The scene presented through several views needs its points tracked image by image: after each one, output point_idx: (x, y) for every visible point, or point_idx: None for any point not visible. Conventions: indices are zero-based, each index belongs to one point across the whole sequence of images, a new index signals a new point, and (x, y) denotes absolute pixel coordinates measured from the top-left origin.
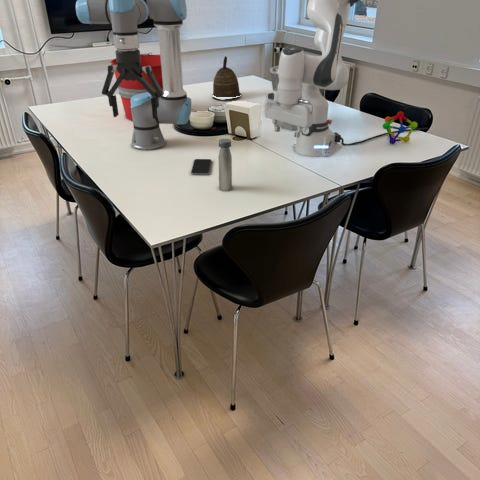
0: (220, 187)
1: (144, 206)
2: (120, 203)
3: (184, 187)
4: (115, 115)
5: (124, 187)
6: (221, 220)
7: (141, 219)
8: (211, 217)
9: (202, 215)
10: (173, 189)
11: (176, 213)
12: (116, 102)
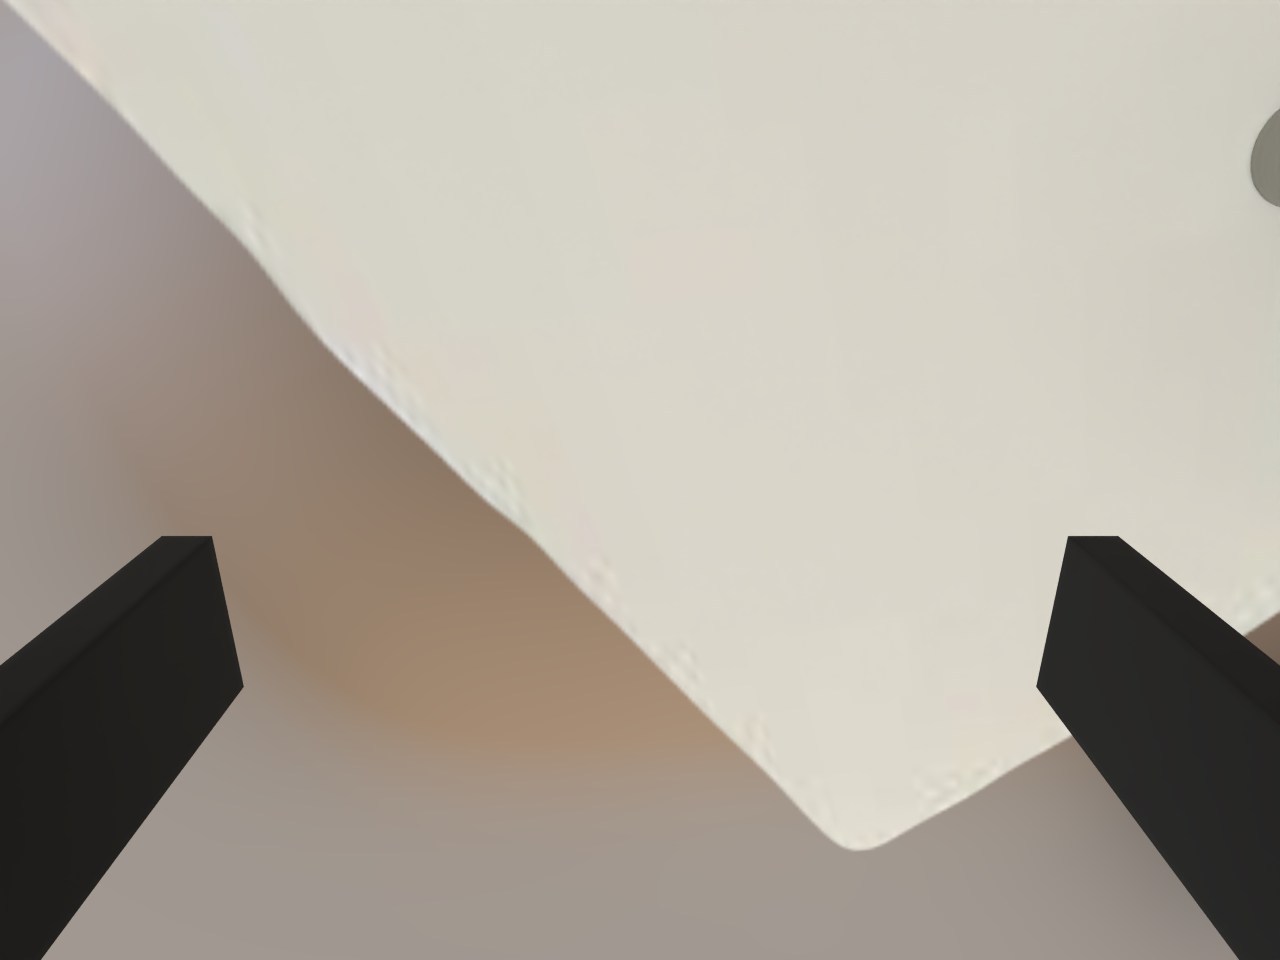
0: (1275, 195)
1: (706, 525)
2: (532, 505)
3: (949, 179)
4: (225, 704)
5: (452, 248)
6: None
7: (733, 671)
8: None
9: None
10: (862, 232)
11: (932, 585)
12: (19, 740)
